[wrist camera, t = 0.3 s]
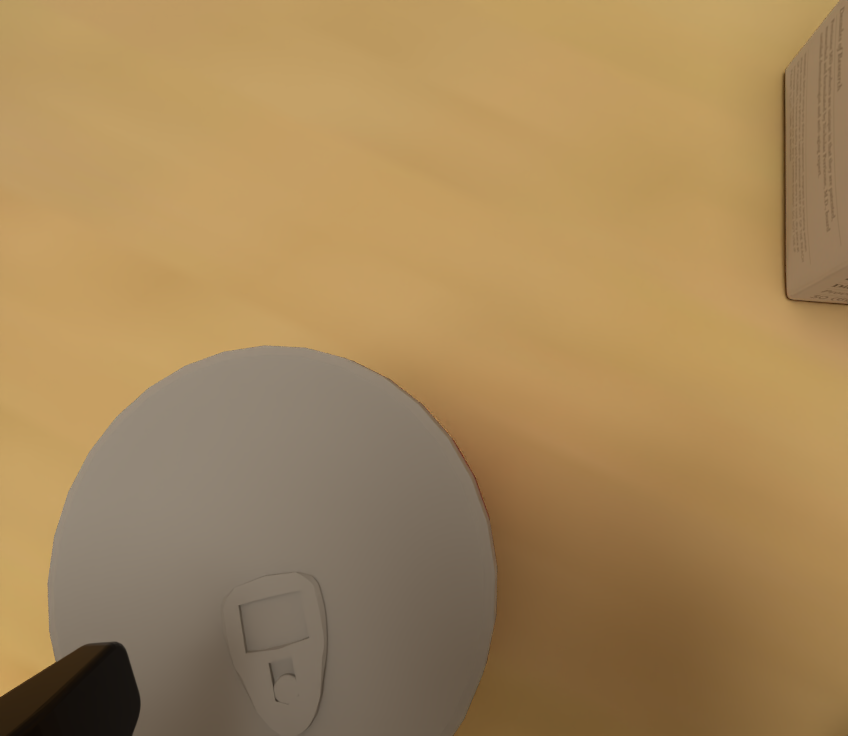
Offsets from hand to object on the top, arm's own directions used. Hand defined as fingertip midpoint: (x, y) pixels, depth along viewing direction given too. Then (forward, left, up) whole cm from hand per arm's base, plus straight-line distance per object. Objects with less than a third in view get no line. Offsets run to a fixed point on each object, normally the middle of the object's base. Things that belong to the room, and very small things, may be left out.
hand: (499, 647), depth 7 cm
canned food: (+2, +3, -14) cm, 14 cm away
